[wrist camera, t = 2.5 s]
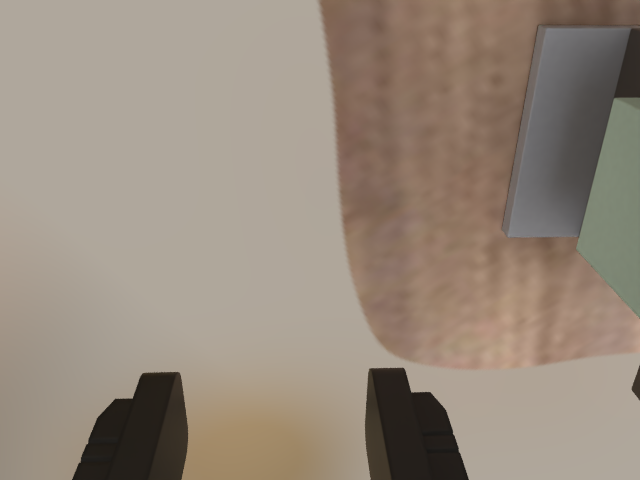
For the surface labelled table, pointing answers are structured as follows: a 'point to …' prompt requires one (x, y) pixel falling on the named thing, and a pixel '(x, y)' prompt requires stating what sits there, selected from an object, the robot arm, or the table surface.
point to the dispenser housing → (568, 126)
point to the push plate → (616, 206)
